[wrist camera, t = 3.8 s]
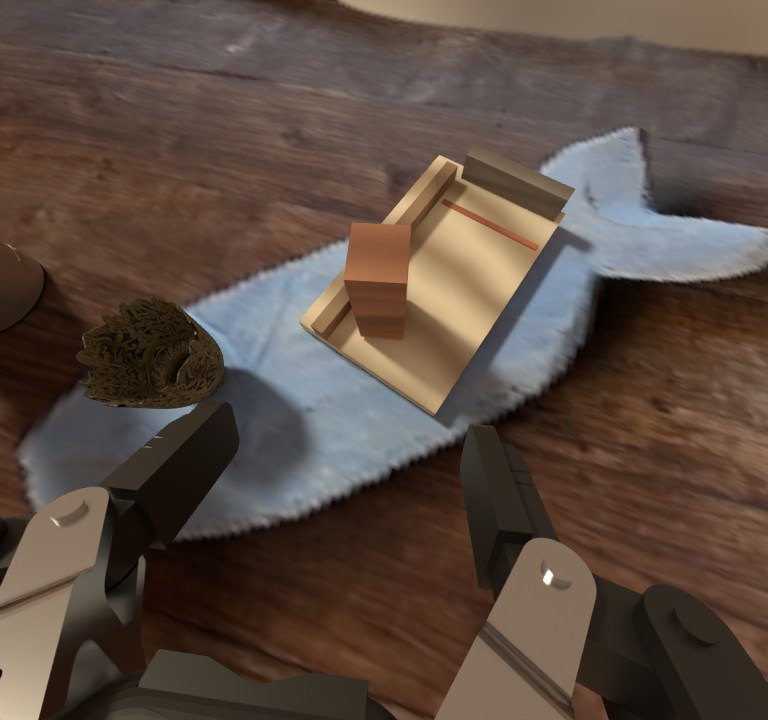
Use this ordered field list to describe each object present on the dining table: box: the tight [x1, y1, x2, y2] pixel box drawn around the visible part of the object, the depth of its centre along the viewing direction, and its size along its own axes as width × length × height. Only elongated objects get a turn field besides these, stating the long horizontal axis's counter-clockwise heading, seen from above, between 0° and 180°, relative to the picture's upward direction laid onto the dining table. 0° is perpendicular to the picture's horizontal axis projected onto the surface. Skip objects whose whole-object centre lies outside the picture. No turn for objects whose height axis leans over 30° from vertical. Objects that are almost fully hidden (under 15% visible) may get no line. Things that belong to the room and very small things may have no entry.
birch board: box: [299, 145, 575, 416], centre depth 27 cm, size 23×14×4 cm, turn 145°
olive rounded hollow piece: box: [76, 296, 225, 409], centre depth 23 cm, size 8×7×8 cm
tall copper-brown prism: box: [343, 223, 411, 339], centre depth 22 cm, size 5×4×8 cm
